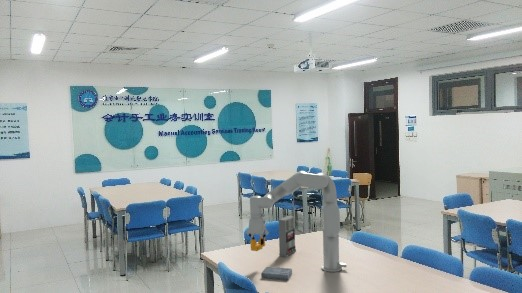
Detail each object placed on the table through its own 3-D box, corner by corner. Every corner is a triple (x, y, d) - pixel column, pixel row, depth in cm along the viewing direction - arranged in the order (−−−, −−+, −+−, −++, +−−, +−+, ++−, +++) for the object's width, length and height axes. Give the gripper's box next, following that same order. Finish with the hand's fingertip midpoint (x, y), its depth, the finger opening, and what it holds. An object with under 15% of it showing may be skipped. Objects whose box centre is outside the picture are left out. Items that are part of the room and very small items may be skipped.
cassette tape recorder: (287, 256, 276) (286, 220, 275) (279, 255, 279) (278, 219, 278) (296, 251, 288) (295, 216, 287) (288, 250, 291) (287, 215, 290)
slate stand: (292, 273, 244) (292, 268, 244) (288, 280, 234) (288, 275, 234) (266, 271, 249) (266, 266, 249) (261, 278, 239) (261, 273, 238)
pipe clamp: (256, 251, 249) (256, 240, 249) (250, 250, 252) (250, 239, 251) (267, 246, 259) (267, 236, 259) (261, 245, 261) (261, 235, 261)
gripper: (271, 214, 255) (272, 243, 256) (245, 214, 260) (246, 242, 261) (268, 217, 248) (269, 246, 249) (241, 216, 253) (243, 245, 253)
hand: (257, 244), depth 255 cm, fingers closed on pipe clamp, 4 cm apart
